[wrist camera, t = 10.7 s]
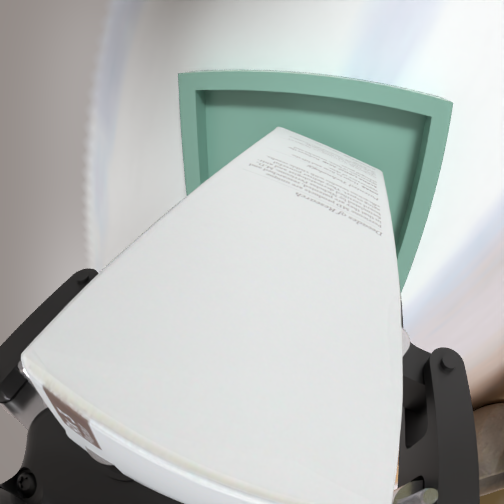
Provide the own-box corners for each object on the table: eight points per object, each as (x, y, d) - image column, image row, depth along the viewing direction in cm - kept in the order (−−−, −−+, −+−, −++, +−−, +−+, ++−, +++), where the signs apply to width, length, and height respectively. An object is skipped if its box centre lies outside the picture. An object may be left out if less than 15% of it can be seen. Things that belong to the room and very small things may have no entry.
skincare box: (322, 280, 19) (250, 534, 8) (232, 242, 19) (95, 469, 8) (387, 161, 14) (409, 544, 2) (272, 113, 14) (-11, 375, 3)
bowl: (520, 431, 27) (522, 488, 19) (418, 450, 34) (412, 509, 27) (561, 369, 19) (577, 444, 11) (430, 398, 26) (427, 484, 19)
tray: (194, 71, 16) (178, 73, 14) (442, 98, 13) (453, 102, 11) (207, 261, 24) (196, 277, 23) (390, 296, 21) (391, 316, 19)
